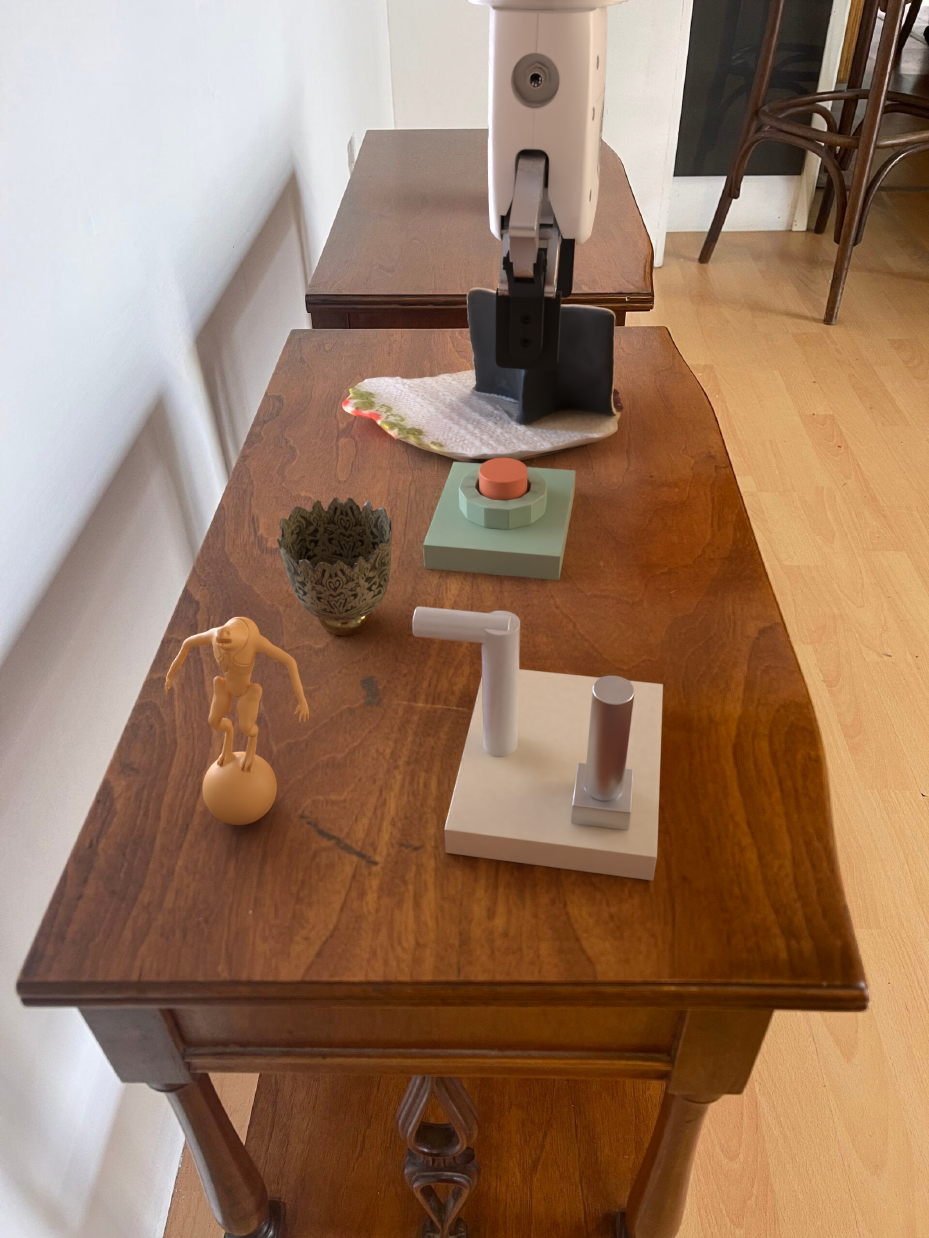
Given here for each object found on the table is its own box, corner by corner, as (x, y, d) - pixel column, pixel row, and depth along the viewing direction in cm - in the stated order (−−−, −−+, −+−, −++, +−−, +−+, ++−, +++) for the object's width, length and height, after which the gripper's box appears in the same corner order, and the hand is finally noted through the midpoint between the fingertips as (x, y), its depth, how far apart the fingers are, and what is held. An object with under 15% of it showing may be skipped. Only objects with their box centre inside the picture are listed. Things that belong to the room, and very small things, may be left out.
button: (529, 479, 75) (530, 459, 74) (523, 504, 72) (524, 483, 71) (483, 475, 76) (483, 455, 75) (475, 500, 73) (475, 480, 72)
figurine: (162, 822, 55) (108, 661, 47) (213, 746, 59) (171, 588, 51) (299, 855, 53) (265, 693, 45) (341, 774, 57) (317, 614, 49)
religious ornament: (655, 410, 91) (669, 283, 83) (551, 511, 78) (557, 371, 71) (435, 353, 102) (430, 236, 94) (312, 434, 89) (294, 305, 81)
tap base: (659, 707, 61) (681, 559, 54) (653, 881, 51) (678, 728, 44) (446, 684, 63) (439, 538, 56) (399, 847, 53) (384, 695, 46)
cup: (396, 658, 65) (387, 560, 60) (285, 659, 65) (267, 561, 60) (403, 589, 71) (395, 494, 66) (301, 590, 71) (286, 496, 66)
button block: (574, 493, 80) (576, 450, 78) (559, 581, 71) (561, 535, 68) (454, 484, 82) (452, 441, 79) (424, 569, 72) (421, 523, 70)
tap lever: (631, 787, 53) (646, 671, 48) (628, 831, 51) (644, 714, 45) (576, 780, 54) (584, 664, 48) (570, 823, 51) (579, 707, 46)
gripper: (628, -12, 37) (595, 405, 47) (639, -61, 50) (611, 275, 61) (430, -14, 38) (442, 396, 48) (492, -61, 51) (491, 270, 62)
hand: (536, 328), depth 54 cm, fingers open, 9 cm apart
